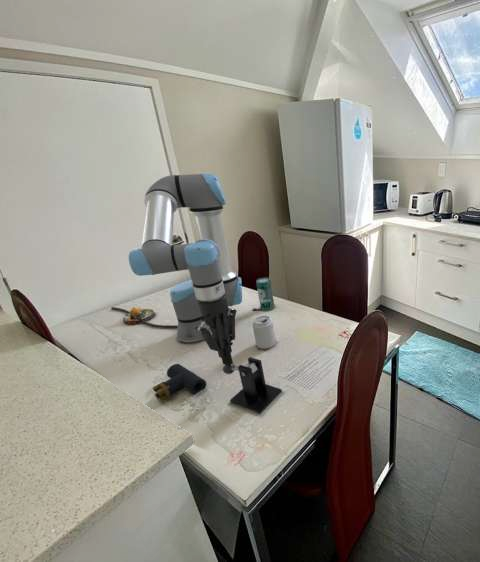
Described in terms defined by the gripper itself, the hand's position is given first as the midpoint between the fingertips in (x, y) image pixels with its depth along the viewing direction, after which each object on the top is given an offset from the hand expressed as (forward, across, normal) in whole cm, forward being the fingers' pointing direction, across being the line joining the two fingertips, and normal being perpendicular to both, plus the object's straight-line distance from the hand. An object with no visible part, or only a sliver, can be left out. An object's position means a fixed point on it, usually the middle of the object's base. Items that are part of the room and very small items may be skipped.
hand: (228, 363), depth 98 cm
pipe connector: (+11, -7, +18) cm, 22 cm away
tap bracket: (+11, 0, -9) cm, 14 cm away
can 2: (+11, +24, +8) cm, 28 cm away
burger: (+11, +18, +79) cm, 82 cm away
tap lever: (+2, 0, -5) cm, 5 cm away
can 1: (+11, +50, +29) cm, 59 cm away
